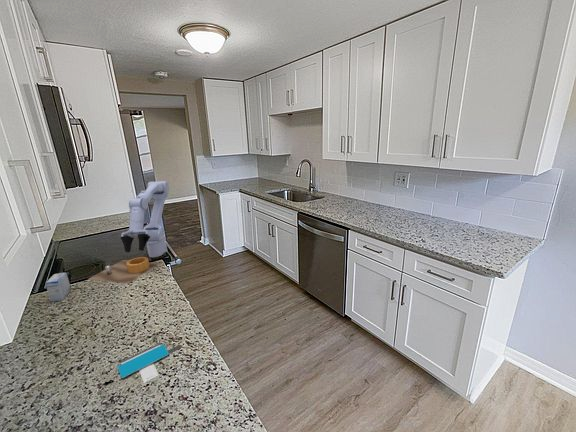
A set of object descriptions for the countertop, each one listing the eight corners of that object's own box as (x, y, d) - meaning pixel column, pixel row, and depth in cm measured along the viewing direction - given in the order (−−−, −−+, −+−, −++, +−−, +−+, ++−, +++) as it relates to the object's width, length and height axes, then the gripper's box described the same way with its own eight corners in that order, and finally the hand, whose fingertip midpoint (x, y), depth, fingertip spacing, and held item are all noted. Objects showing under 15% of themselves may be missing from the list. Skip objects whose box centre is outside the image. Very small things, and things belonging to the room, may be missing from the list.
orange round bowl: (138, 263, 133) (136, 256, 132) (153, 265, 131) (152, 257, 130) (123, 272, 125) (121, 264, 124) (140, 273, 123) (138, 266, 122)
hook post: (109, 272, 125) (107, 265, 124) (113, 273, 125) (111, 265, 123) (106, 274, 123) (104, 267, 122) (109, 275, 123) (107, 267, 122)
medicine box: (59, 292, 113) (53, 273, 110) (71, 289, 114) (66, 271, 112) (50, 302, 106) (44, 283, 103) (64, 299, 107) (58, 280, 105)
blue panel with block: (107, 405, 64) (105, 400, 63) (100, 374, 72) (99, 369, 72) (189, 360, 76) (188, 356, 75) (175, 338, 85) (174, 334, 84)
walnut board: (123, 262, 139) (122, 259, 138) (159, 265, 134) (159, 262, 133) (88, 282, 120) (87, 279, 120) (129, 286, 115) (128, 283, 115)
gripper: (117, 222, 123) (113, 251, 120) (143, 219, 120) (140, 249, 117) (129, 225, 130) (126, 253, 127) (154, 222, 127) (152, 250, 123)
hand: (134, 251), depth 122 cm, fingers open, 7 cm apart
